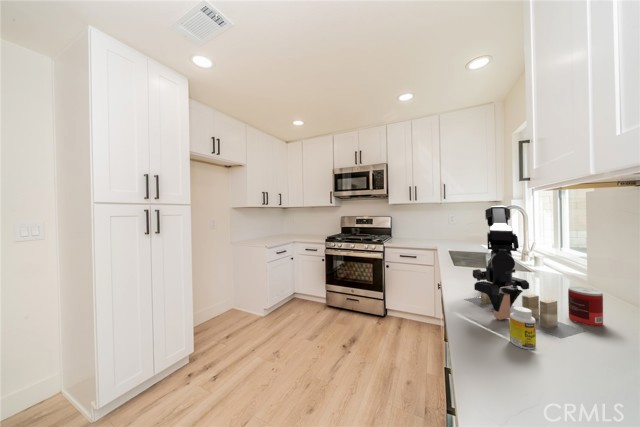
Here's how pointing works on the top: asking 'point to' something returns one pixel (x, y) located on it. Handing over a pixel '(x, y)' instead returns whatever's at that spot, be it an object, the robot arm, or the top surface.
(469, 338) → the top surface
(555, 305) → the wooden block
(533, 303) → the domino
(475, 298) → the mat
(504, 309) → the domino
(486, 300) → the domino
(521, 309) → the supplement bottle
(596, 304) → the canned food
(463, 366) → the top surface
